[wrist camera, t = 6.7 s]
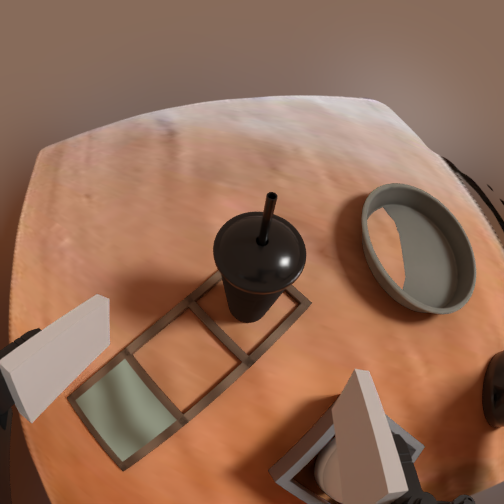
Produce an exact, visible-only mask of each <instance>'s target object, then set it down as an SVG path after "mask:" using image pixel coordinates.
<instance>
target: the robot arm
mask: <svg viewBox="0 0 504 504" xmlns="http://www.w3.org/2000/svg"><path fill="white" fill-rule="evenodd" d="M109 345H110V330H109V299H108V298H106V297H104V296H101V295H99V294H96V295H95V296H93V297H92V298H90V299H88V300H87V301H85V302H84V303H82V304H81V305H79V306H78V307H76V308H74V309H73V310H71V311H70V312H68V313H67V314H65V315H64V316H62V317H61V318H59V319H58V320H56V321H55V322H53V323H52V324H50V325H49V326H47V327H46V328H44V329H43V330H41V329H39V328H38V329H34V330H31V331H28V332H27V333H25V334H24V335H22V336H21V337H20V338H18V339H16V340H15V341H14V343H13V342H12V343H10V344H9V345H8V346H6V347H5V348H3V349H2V350H0V504H12V501H11V489H10V461H9V460H10V436H11V424H12V415H13V413H12V408H11V406H12V405H14V404H15V405H16V407H17V409H18V411H19V413H20V414H21V415H22V416H24V417H25V418H26V419H27V420H28V421H29V422H31V423H33V422H34V421H35V420H36V418H37V417H38V416H39V415H40V414H41V413H42V412H43V411H44V410H45V409H46V408H47V407H48V406H49V405H50V404H51V403H52V402H53V401H54V400H55V399H56V398H57V397H58V396H59V395H60V394H61V393H62V392H63V391H64V390H65V389H66V388H67V387H68V385H69V384H70V383H71V382H72V381H73V380H74V379H75V378H76V377H77V376H78V375H79V374H80V373H81V372H82V371H84V370H85V369H86V368H87V367H88V366H89V365H90V364H91V363H92V362H93V361H94V360H95V359H96V358H97V357H98V356H99V355H100V354H101V353H102V352H103V351H104V350H105V349H106V348H107V347H108V346H109ZM483 409H484V414H485V417H486V419H487V421H488V423H489V424H490V425H491V426H493V427H502V426H504V351H501V352H499V353H497V354H496V355H495V356H494V357H493V358H492V360H491V362H490V364H489V366H488V368H487V371H486V375H485V379H484V385H483ZM332 416H333V423H334V430H335V437H336V445H337V453H338V461H339V470H340V479H341V489H342V500H343V504H475V501H474V500H473V498H471V497H470V496H468V495H460V496H459V497H457V498H456V499H454V500H453V501H452V502H446V501H436V499H435V498H434V497H433V495H431V494H430V493H428V492H423V491H422V489H421V486H420V482H419V479H418V476H417V473H416V470H415V466H414V463H413V462H412V457H411V455H410V454H409V453H410V452H409V449H408V446H407V443H406V442H405V440H404V439H403V438H402V437H401V436H400V434H392V433H391V430H390V427H389V424H388V421H387V419H386V416H385V413H384V410H383V407H382V404H381V401H380V399H379V396H378V393H377V391H376V388H375V385H374V383H373V380H372V377H371V375H370V372H369V371H365V370H359V369H355V370H354V371H353V373H352V375H351V377H350V379H349V380H348V382H347V384H346V386H345V388H344V389H343V391H342V393H341V394H340V396H339V398H338V399H337V401H336V403H335V404H334V406H333V408H332Z"/></svg>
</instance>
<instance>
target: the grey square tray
mask: <svg viewBox="0 0 504 504" xmlns="http://www.w3.org/2000/svg"><path fill="white" fill-rule="evenodd" d="M338 398H339V397H338ZM338 398H337V399H338ZM336 401H337V400H336ZM336 401H335V402H334V403H333V404H332V406H331V407H330V408H329V409H328V410H327V411H326V412H325V414H324V415H323V416H322V417H321V418H320V419H319V420H318V421H317V423H316V424H315V425H314V426H313V427H312V428H311V429H310V430H309V431H308V432H307V433H306V434H305V435H304V436H303V437H302V438H301V439H300V441H299V442H298V443H297V444H296V445H295V446H294V447H293V448H291V449H290V450H289V451H288V452H287V453H286V454H285V455H284V456H283V457H282V458H281V459H280V460H279V461H278V462H277V463H276V464H274V465H273V466H272V467H271V468H270V469H269V470H268V471H269V473H270V475H271V476H272V478H273V480H274V481H275V482H276V483H277V484H278V485H280V486H281V487H283V488H284V489H286V490H287V491H289V492H290V493H291V494H293V495H295V496H296V497H298V498H299V499H301V500H302V501H304V502H306V503H307V504H331V503H330V502H328V501H326V500H325V499H323V498H321V497H320V496H318V495H316V494H315V493H313V492H312V491H310V490H309V489H307V488H306V487H304V486H303V485H301V484H300V483H298V482H297V481H295V480H294V479H293V477H294V476H295V475H296V474H297V473H298V472H299V471H300V470H301V469H302V468H303V467H304V466H306V465H307V464H308V463H309V462H310V461H311V460H312V459H313V457H314V456H315V455H316V454H317V453H318V452H319V451H320V450H321V449H322V448H323V447H324V446H325V445H326V444H327V443H328V442H329V440H330V439H331V438H332V437H333V436H334V435H335V430H334V423H333V416H332V408H333V406H334V404H335V403H336ZM385 416H386V419H387V421H388V424H389V427H390V430H391V433H392V434H400V436H401V437H402V438H403V439H404V440H405V442H406V443H407V446H408V449H409V452H410V453H409V454H410V455H411V457H412V462H413V463H414V462H415V461H416V459H417V458H418V456H419V455H420V453H421V452H422V450H423V449H424V447H425V446H424V445H423V444H421V443H420V442H419V441H418V440H416V439H415V438H414V437H413V436H411V435H410V434H409V433H408V432H406V431H405V430H404V429H403V428H401V427H400V426H399V425H398V424H397V423H395V422H394V421H393V420H392V419H390V418H389V417H388V416H387V415H386V414H385Z"/></svg>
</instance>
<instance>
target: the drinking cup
mask: <svg viewBox="0 0 504 504" xmlns="http://www.w3.org/2000/svg"><path fill="white" fill-rule="evenodd" d="M276 201H277V194H276V193H274V192H269V193H268V194H267V196H266V201H265V206H264V212H248V213H243V214H240V215H238V216H235V217H233V218H232V219H230V220H229V221H227V222H226V223H225V224H224V225H223V226H222V227H221V229H220V230H219V232H218V233H217V235H216V238H215V241H214V246H213V255H214V260H215V264H216V266H217V269H218V270H219V272H220V273H221V276H222V281H223V285H224V289H225V293H226V297H227V301H228V305H229V309H230V311H231V313H232V315H233V316H234V317H235V318H236V319H238V320H239V321H242V322H246V323H251V322H255V321H258V320H259V319H261V318H262V317H263V316H264V315H265V313H266V312H267V311H268V310H269V308H270V307H271V306H272V305H273V304H274V302H275V301H276V300H277V299H278V297H279V296H280V295H281V294H282V292H283V291H284V290H285V289H286V288H287V287H289V286H290V285H292V284H293V283H294V282H295V281H296V280H297V279H298V277H299V276H300V274H301V273H302V271H303V268H304V266H305V262H306V248H305V244H304V241H303V239H302V237H301V235H300V234H299V232H298V231H297V230H296V228H295V227H294V226H293V225H292V224H290V223H289V222H288V221H286V220H285V219H283V218H281V217H279V216H277V215H274V214H273V213H274V209H275V205H276Z"/></svg>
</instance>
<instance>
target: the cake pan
mask: <svg viewBox="0 0 504 504" xmlns="http://www.w3.org/2000/svg"><path fill="white" fill-rule="evenodd" d="M382 207H383V208H384V209H385V211H386V212H387V213H388V215H389V216H390V217H391V218H392V219H393V220H394V222H395V224H396V227H397V230H398V232H399V236H400V242H401V248H402V254H403V261H404V269H405V282H404V286H403V290H402V289H401V288H400V287H399V286H398V285H397V284H396V283H395V282H394V281H393V280H392V278H391V277H390V276H389V275H388V273H387V272H386V271H385V269H384V268H383V266H382V264H381V263H380V261H379V259H378V257H377V255H376V253H375V251H374V249H373V246H372V244H371V241H370V237H369V233H368V228H367V219H368V218H369V216H370V215H371V214H372V213H373V212H374V211H376V210H377V209H379V208H382ZM362 231H363V232H362V244H363V250H364V254H365V257H366V260H367V263H368V265H369V268H370V270H371V271H372V273H373V275H374V277H375V278H376V280H377V281H378V283H379V284H380V285H381V287H382V288H383V289H384V290H385V291H386V292H387V293H388V294H389V295H390V296H391V297H392V298H393V299H394V300H395V301H397V302H398V303H400V304H401V305H403V306H405V307H407V308H409V309H411V310H414V311H417V312H423V313H435V314H449V313H453V312H455V311H458V310H459V309H461V308H462V307H463V306H464V305H465V304H466V303H467V302H468V301H469V299H470V297H471V295H472V293H473V290H474V287H475V282H476V264H475V258H474V253H473V250H472V247H471V244H470V242H469V239H468V237H467V235H466V233H465V231H464V230H463V228H462V226H461V225H460V223H459V222H458V220H457V219H456V218H455V216H454V215H453V214H452V213H451V212H450V211H449V210H448V209H447V208H446V207H445V206H444V205H443V204H442V203H441V202H440V201H438V200H437V199H436V198H434V197H433V196H431V195H430V194H428V193H427V192H425V191H423V190H421V189H418V188H416V187H413V186H410V185H406V184H398V183H392V184H386V185H383V186H380V187H378V188H376V189H375V190H373V191H372V192H371V193H370V194H369V196H368V197H367V199H366V201H365V203H364V206H363V210H362Z"/></svg>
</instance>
